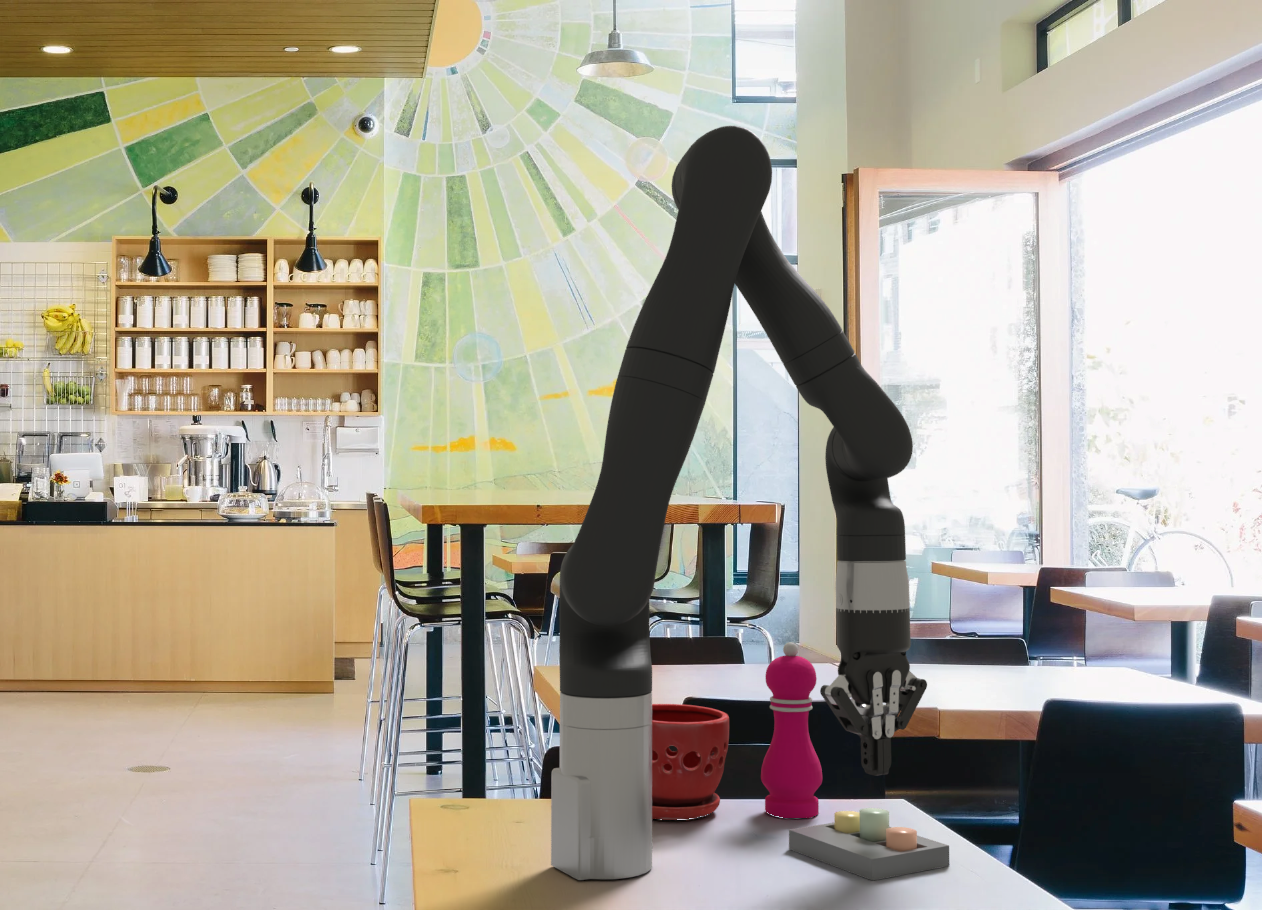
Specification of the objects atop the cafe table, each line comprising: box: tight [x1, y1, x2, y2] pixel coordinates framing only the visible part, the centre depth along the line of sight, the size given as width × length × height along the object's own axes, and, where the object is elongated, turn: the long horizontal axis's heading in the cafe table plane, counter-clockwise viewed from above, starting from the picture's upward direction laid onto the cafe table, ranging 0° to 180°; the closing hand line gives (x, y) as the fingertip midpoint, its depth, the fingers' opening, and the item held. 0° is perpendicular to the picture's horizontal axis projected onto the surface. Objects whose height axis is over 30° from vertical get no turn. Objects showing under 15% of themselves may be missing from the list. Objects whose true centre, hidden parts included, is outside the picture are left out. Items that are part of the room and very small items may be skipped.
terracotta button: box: [886, 826, 918, 852], centre depth 121 cm, size 3×3×3 cm
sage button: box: [858, 807, 890, 842], centre depth 125 cm, size 3×3×3 cm
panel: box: [788, 822, 950, 881], centre depth 124 cm, size 10×13×2 cm
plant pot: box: [652, 703, 730, 821], centre depth 143 cm, size 13×13×12 cm
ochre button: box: [833, 810, 860, 834], centre depth 128 cm, size 3×3×3 cm
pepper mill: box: [760, 641, 823, 819], centre depth 144 cm, size 7×7×20 cm
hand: (876, 773), depth 125 cm, fingers closed
